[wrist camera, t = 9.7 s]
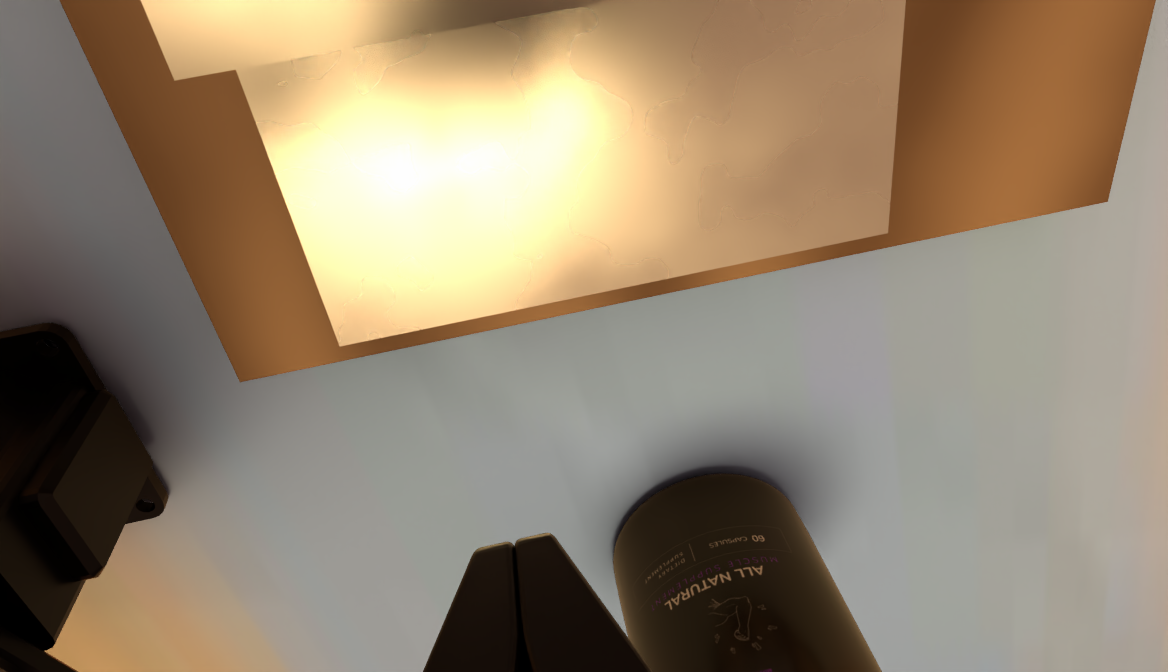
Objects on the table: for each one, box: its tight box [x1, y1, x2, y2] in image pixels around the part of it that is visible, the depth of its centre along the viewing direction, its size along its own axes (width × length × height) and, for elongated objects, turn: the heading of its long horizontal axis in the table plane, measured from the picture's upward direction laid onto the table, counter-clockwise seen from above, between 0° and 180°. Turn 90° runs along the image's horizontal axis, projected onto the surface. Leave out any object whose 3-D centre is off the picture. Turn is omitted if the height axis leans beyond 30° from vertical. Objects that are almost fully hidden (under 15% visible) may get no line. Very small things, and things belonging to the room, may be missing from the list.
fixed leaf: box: [141, 0, 906, 346], centre depth 15 cm, size 14×11×4 cm
